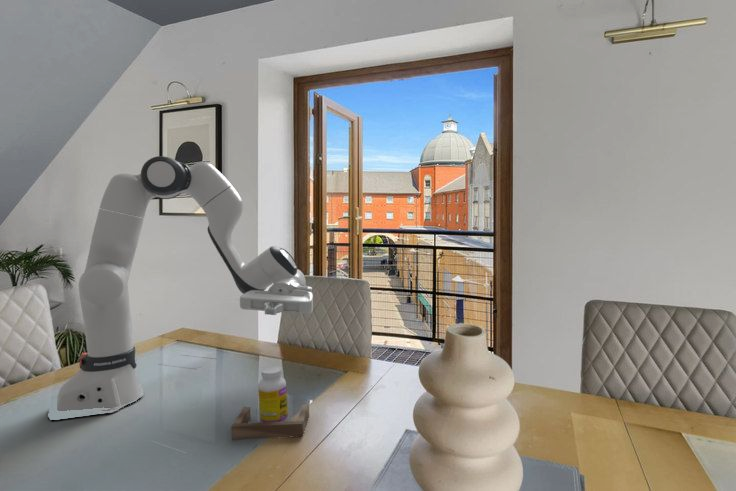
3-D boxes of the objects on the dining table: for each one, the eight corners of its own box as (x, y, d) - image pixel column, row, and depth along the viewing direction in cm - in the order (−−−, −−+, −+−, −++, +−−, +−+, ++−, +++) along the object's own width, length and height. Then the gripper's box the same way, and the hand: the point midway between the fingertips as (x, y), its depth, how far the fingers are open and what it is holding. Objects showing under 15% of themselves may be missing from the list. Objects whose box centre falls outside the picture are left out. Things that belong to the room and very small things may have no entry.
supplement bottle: (283, 428, 103) (280, 375, 102) (256, 427, 104) (252, 374, 103) (291, 415, 110) (288, 364, 109) (266, 414, 111) (263, 364, 110)
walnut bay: (244, 418, 109) (243, 406, 109) (309, 416, 109) (308, 404, 109) (231, 439, 99) (231, 426, 99) (302, 436, 99) (302, 423, 99)
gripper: (248, 282, 130) (231, 297, 116) (317, 287, 128) (308, 303, 115) (248, 302, 131) (231, 320, 117) (316, 307, 130) (307, 326, 116)
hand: (269, 312), depth 116 cm, fingers closed
